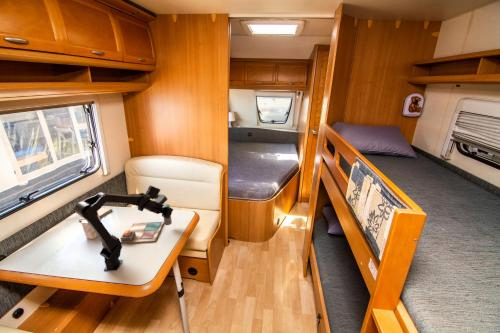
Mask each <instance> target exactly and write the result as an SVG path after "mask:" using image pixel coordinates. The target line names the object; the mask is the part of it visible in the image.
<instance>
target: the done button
mask: <svg viewBox="0 0 500 333" xmlns="http://www.w3.org/2000/svg"><path fill="white" fill-rule="evenodd" d="M123 234H125V237H130V236H131V233H130V230H129V229H128V230H124V232H123Z"/></svg>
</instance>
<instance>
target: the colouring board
mask: <svg viewBox="0 0 500 333" xmlns="http://www.w3.org/2000/svg"><path fill="white" fill-rule="evenodd" d="M164 225H165V223H164V221H154V222H134V223H133V224H132V225H131V226H130V228H129V229H128V230H130V233H131V236H130V237H125V234H124V233H123V234H122V235H121V237H120V239H119V240H120V242H121V243H122V244H121V245H131V244H145V243H147V244H148V243H156V242H157V239H158V237H159V236H160V233H161V232H162V229H163V227H164Z"/></svg>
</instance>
